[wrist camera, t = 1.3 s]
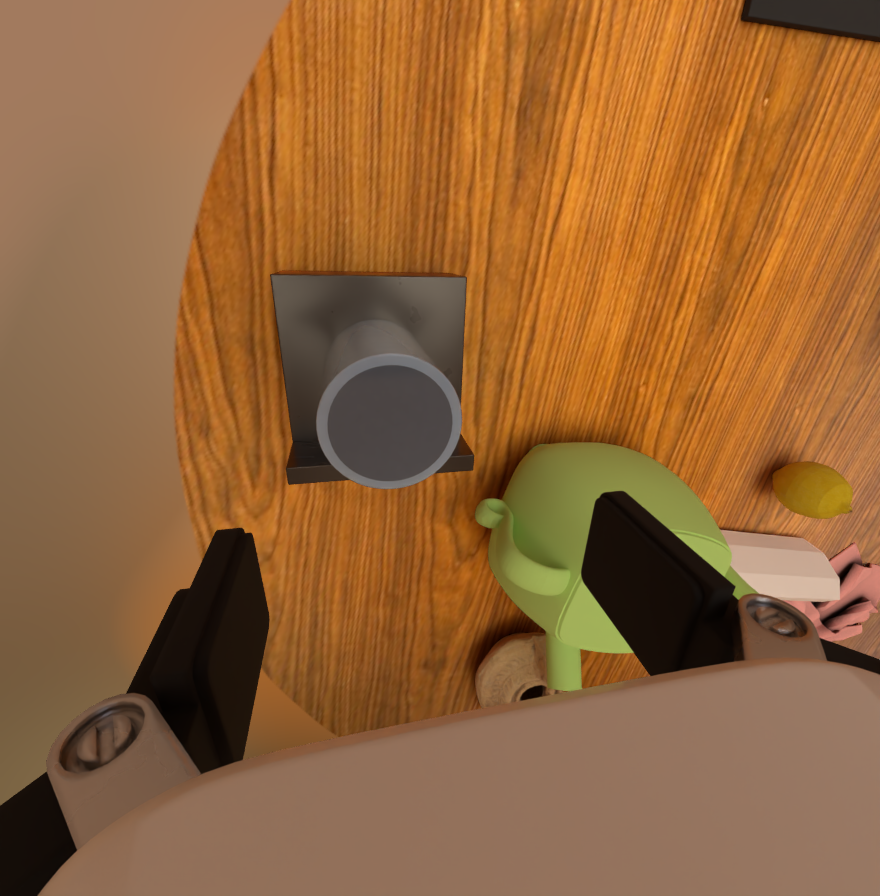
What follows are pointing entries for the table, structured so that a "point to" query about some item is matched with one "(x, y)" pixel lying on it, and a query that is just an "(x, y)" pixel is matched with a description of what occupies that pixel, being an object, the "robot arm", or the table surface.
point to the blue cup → (385, 407)
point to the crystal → (783, 567)
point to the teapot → (583, 541)
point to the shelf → (341, 305)
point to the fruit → (812, 490)
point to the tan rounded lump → (514, 671)
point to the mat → (819, 16)
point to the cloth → (845, 598)
